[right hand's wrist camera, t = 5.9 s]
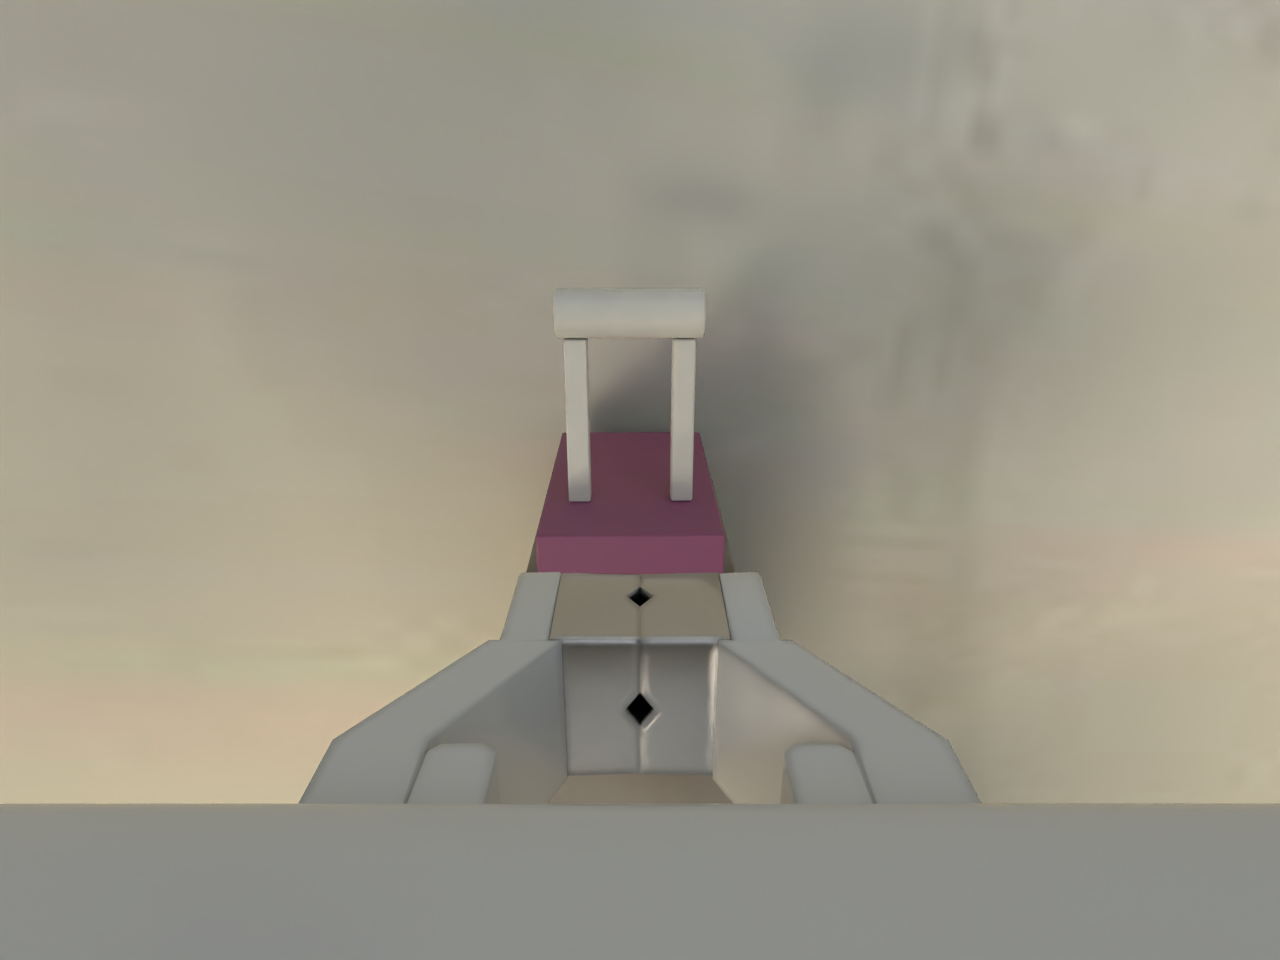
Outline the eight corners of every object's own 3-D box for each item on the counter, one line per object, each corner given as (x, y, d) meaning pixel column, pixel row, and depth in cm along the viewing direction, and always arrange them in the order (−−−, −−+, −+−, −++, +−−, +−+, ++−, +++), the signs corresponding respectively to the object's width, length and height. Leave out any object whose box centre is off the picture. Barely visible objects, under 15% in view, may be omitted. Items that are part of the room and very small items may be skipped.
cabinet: (550, 478, 29) (510, 628, 20) (712, 477, 29) (750, 627, 20) (566, 825, 35) (542, 1066, 26) (699, 823, 35) (724, 1064, 26)
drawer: (555, 262, 25) (522, 304, 18) (704, 262, 25) (735, 304, 18) (576, 782, 33) (559, 969, 25) (689, 781, 33) (706, 967, 25)
